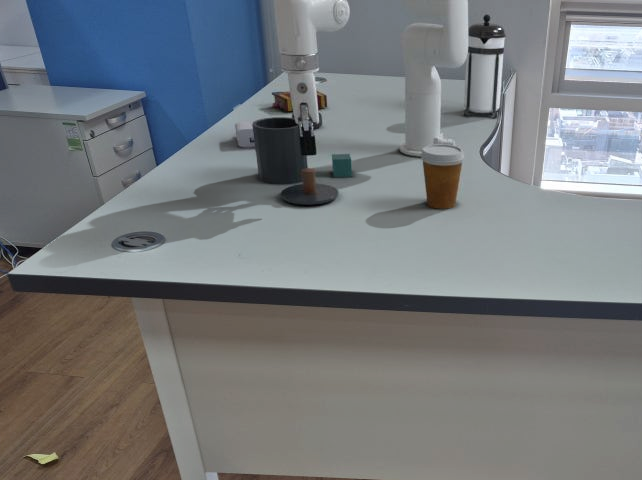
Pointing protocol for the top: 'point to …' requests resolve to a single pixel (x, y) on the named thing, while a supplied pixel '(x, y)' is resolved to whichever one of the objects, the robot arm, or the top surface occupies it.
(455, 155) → the disposable coffee cup
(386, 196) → the top surface
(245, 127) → the charger
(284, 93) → the decorative book
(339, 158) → the block
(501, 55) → the coffee press
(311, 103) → the robot arm
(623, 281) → the top surface
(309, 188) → the lid
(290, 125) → the container
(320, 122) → the smart speaker
